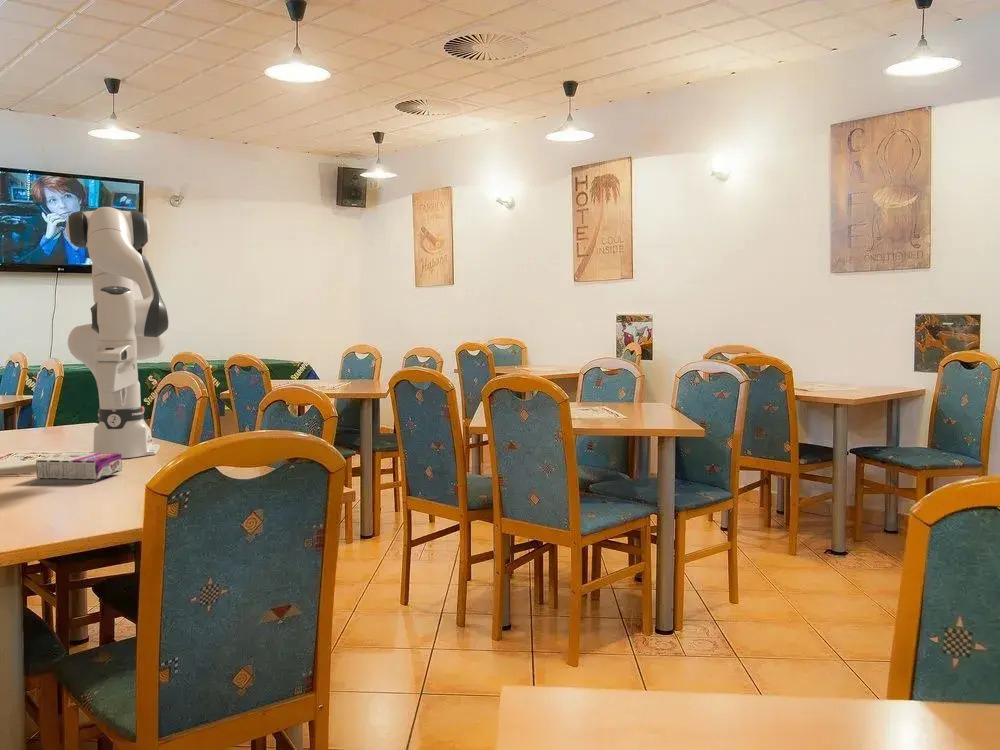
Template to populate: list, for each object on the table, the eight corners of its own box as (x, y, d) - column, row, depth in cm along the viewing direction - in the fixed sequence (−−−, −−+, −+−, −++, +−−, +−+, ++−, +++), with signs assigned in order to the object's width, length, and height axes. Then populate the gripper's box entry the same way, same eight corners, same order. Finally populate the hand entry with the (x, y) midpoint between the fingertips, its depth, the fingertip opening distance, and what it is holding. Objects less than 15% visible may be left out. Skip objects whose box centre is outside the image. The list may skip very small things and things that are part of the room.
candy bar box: (123, 472, 214) (65, 470, 216) (122, 453, 213) (64, 451, 216) (96, 481, 203) (35, 479, 205) (95, 461, 202) (34, 459, 205)
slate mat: (49, 476, 211) (49, 474, 211) (108, 474, 213) (108, 472, 213) (30, 485, 200) (30, 482, 200) (92, 483, 202) (92, 481, 202)
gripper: (118, 348, 216) (120, 400, 218) (90, 354, 196) (92, 412, 198) (143, 348, 217) (145, 400, 219) (117, 355, 197) (119, 412, 199)
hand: (119, 405), depth 208 cm, fingers closed
